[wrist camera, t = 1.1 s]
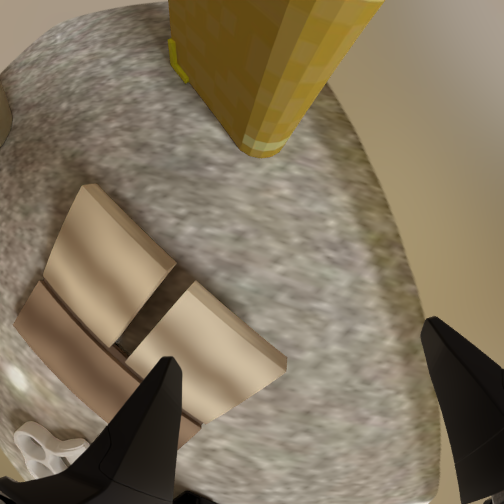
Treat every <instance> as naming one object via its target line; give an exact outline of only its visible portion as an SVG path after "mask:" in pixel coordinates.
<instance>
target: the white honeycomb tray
mask: <svg viewBox="0 0 504 504" xmlns="http://www.w3.org/2000/svg"><path fill="white" fill-rule="evenodd" d="M30 437H31V438H33V439H34V440H36V441H37V442H38V443H39V444H40V445H41V446H42V447H40V446H38V445H37V444H35V443H34V442H33V440H32V439H31V438H30ZM14 442H15V444H16V445H17V447H18V448H19V449H20V451H21V452H22V454H23V456H24V459H25V465H26V466H27V468H28V470H29V472H30V474H31V475H32V476H33V477H34V478H35V479H39V478H43V477H47V476H51V475H55V474H58V473H60V472H62V471H64V470H66V469H67V468H68V467H67V466H66V465H65V463H64V462H63V460H62V459H61V458H60V457H66V459H67V460H68V461H69V463H70V464H72V463H73V462H74V461H75V460H76V459H77V458H78V457H79V456H80V455H81V454H82V453H83V452H84V451H85V450H86V449H87V448H88V447H89V446H90V444H89V443H88V442H87V441H86V440H85V439H83V438H78V439H69V440H66V441H61V440H59V439H57V438H55V437H54V436H53V435H52V434H51V433H50V432H49V431H48V430H47V429H46V428H45V427H43V426H42V425H40V424H38V423H36V422H33V421H28V422H25V423H24V424H23V425H22V426H21V427H20V428H19V429H18V430H16V431H15V433H14ZM43 464H44V465H45V466H46V467H48V468H49V469H48V468H46V467H45V466H44V465H43Z"/></svg>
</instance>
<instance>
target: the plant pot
mask: <svg viewBox="0 0 504 504" xmlns="http://www.w3.org/2000/svg"><path fill="white" fill-rule="evenodd" d="M11 125H12V114H11V111H10V107H9V104H8V101H7V98H6V95H5V92H4V89H3V86H2V83H1V81H0V147H1V146H2V145H3V143H4V142H5V140H6V138H7V136H8V134H9V132H10V129H11Z"/></svg>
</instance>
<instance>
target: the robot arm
mask: <svg viewBox="0 0 504 504" xmlns="http://www.w3.org/2000/svg"><path fill="white" fill-rule="evenodd" d="M421 342H422V345H423V349H424V353H425V357H426V361H427V365H428V370H429V374H430V377H431V380H432V383H433V386H434V389H435V392H436V395H437V398H438V401H439V405H440V408H441V411H442V414H443V418H444V422H445V426H446V429H447V433H448V437H449V441H450V445H451V449H452V454H453V458H454V463H455V469H456V474H457V480H458V485H459V492H460V499H461V504H468V503H471V502H474V501H477V500H480V499H483V498H486V497H489V496H492V497H491V498H489V499H487V500H486V501H485V502H484V503H483V504H504V369H502V368H501V367H500V366H499V365H498V364H497V363H495V362H494V361H493V360H492V359H491V358H489V357H488V356H487V355H486V354H484V353H483V352H482V351H481V350H479V349H478V348H477V347H476V346H475V345H473V344H472V343H471V342H469V341H468V340H467V339H466V338H464V337H463V336H462V335H460V334H459V333H458V332H457V331H455V330H454V329H453V328H451V327H450V326H449V325H447V324H446V323H445V322H443V321H442V320H441V319H439V318H438V317H436V316H433V317H430V318H427V319H426V320H425V322H424V325H423V328H422V331H421ZM182 377H183V373H182V369H181V367H180V366H179V364H178V363H177V361H176V359H175V358H174V357H173V356H163V357H161V358H160V360H159V361H158V362H157V363H156V365H155V366H154V367H153V368H152V370H151V371H150V372H149V373H148V375H147V376H146V377H145V378H144V380H143V381H142V382H141V383H140V385H139V386H138V387H137V388H136V390H135V391H134V392H133V393H132V395H131V396H130V397H129V398H128V400H127V401H126V402H125V404H124V405H123V406H122V407H121V409H120V410H119V411H118V412H117V414H116V415H115V416H114V417H113V419H112V420H111V421H110V422H109V424H108V426H106V427H105V429H104V430H103V431H102V432H101V434H100V435H99V436H98V437H97V438H96V440H95V441H94V442H93V443H92V444H91V445H90V446H89V447H88V448H87V449H86V450H85V451H84V452H83V453H82V454H81V455H80V456H79V457H78V458H77V459H76V460H75V461H74V462H73V463H72V464H71V465H70V466H69V467H68V468H67V469H66V470H64V471H62V472H60V473H58V474H55V475H51V476H47V477H43V478H39V479H35V480H31V481H26V482H17V481H15V480H13V479H11V478H9V477H7V476H4V477H2V478H0V491H1V492H0V504H216V503H213V502H211V501H209V500H207V499H204V498H202V497H200V496H198V495H196V494H194V493H192V492H190V491H185V492H184V493H182V494H181V495H179V496H178V497H176V498H175V499H174V500H173V490H174V479H175V468H176V458H177V449H178V439H179V431H180V423H181V414H182Z"/></svg>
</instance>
